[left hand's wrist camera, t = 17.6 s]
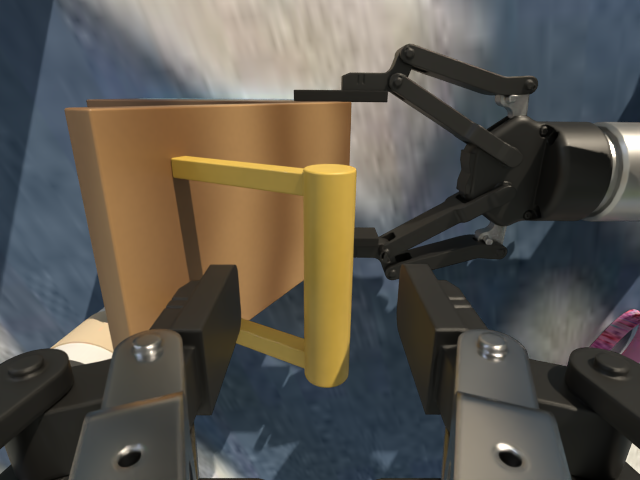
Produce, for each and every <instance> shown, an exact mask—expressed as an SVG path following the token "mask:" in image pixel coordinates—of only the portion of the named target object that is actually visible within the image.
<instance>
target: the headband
mask: <svg viewBox="0 0 640 480" xmlns="http://www.w3.org/2000/svg"><path fill="white" fill-rule="evenodd" d="M638 324H639V327H638V330H637V332H636V335H635V336H634V338H633V340H632V342H631V343H630V344H629V346H628V347H627V348H626V350H625V351H624V352H623V353H622V354H621V355H623V356H626V357H628V358H630V359H632V360H634V361H635V362H637V363H639V362H640V312H639V311H638V310H635V309H634V310H629V311H627V312H626V313H624V314H623V315H621V316H620V317H619V318H617V319H616V320H615V321H614V322H613V323H612V324H611V325H610V326H609V327H608V328H607V329H606V330H605V331H604V332H603V333H602V334H601V335H600V336H599V337H598V338H597V339H596V340H595V342H594V343H593V344H592V345H591V346H590V347H592V348H600V349H605V350H609V351H610V350H611V349H612V348H613V347H614V346H615V345H616V344H617V343H618V342H619V341H620V340H621V339H622V338H623V337H624V336H625V335H626V334H627V333H628V332H629V331H630V330H632V329H633V328H634V327H635V326H637V325H638Z"/></svg>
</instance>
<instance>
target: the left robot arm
mask: <svg viewBox="0 0 640 480" xmlns="http://www.w3.org/2000/svg"><path fill="white" fill-rule="evenodd" d="M240 327H241V302H240V290H239V277H238V269H237V266H236V265H235V264H211V265H210V266H209V267H208V269H207V270H206V272H205V273H204V275H203V276H202V278H201V279H200V280H192V281H190V282H189V283H187V284H185V285H184V286H182V287H181V288H179V289H178V290H177V292H176V293H175V295H174V296H173V297H172V300H170V301H169V303H168V304H167V306H166V308H164V310H163V311H162V313H161V314H160V315H159V317H158V318H157V319H156V321H155V322H154V324H153V325H152V326H151V328H150V329H149V330H146V331H142V332H139V333H136V334H134V335H132V336H130V337H128V338H126V339H124V340H123V341H122V342H120V343H119V344H118V345H117V346H116V348H115V349H114V351H113V354H112V358H110V359H107V360H103V361H98V362H93V363H88V364H83V365H78V366H73V367H71V364H70V360H69V357H68V354H67V353H66V352H64V351H62V350H59V349H53V348H51V349H39V350H33V351H30V352H26V353H23V354H20V355H18V356H15V357H13V358H11V359H9V360H6V361H5V362H3V363H1V364H0V449H1V448H2V447H3V446H5V448H6V451H7V454H8V457H9V459H10V462H11V465H10V466H9V467H8V468H7V469H6V470H4V471H3V472H2V473H1V474H0V480H263V479H259V478H199V470H198V457H197V444H196V434H195V427H194V420H195V417H196V415H212V413H213V410H214V407H215V404H216V401H217V398H218V395H219V392H220V389H221V386H222V383H223V380H224V377H225V374H226V371H227V368H228V365H229V362H230V359H231V356H232V353H233V350H234V347H235V344H236V341H237V338H238V335H239V332H240ZM397 327H398V332H399V335H400V338H401V341H402V344H403V347H404V350H405V353H406V356H407V359H408V362H409V366H410V369H411V372H412V375H413V378H414V381H415V384H416V387H417V390H418V393H419V396H420V399H421V402H422V405H423V408H424V411H425V414H441V416H442V419H443V421H444V424H445V426H446V427H445V434H444V444H443V457H442V470H441V478H381V479H377V480H640V474H639V473H638V472H637V471H636V470H634V469H633V468H632V467H631V466H630V465H629V464H628V463H627V462H625V461H626V458H627V455H628V452H629V450H630V447H631V444H632V443H633V444H634V445H635V446H637V447H638V448H639V449H640V364H639V363H637V362H635V361H634V360H632V359H630V358H628V357H626V356H623V355H621V354H619V353H616V352H613V351H609V350H605V349H600V348H592V347H585V348H579V349H576V350H574V351H573V352H572V353H571V354H570V357H569V361H568V365H567V366H562V365H557V364H552V363H547V362H541V361H536V360H532V359H529V358H528V354H527V351H526V349H525V348H524V346H523V345H522V344H521V343H520V342H518V341H517V340H516V339H514V338H512V337H510V336H508V335H506V334H504V333H501V332H498V331H494V330H488V328H487V327H486V326H485V324H484V323H483V321H482V320H481V319H480V317H479V316H478V314H477V313H476V312H475V310H474V309H473V308H471V305H470V303H469V302H468V300H466V298H465V296H464V295H463V293H462V292H461V291H460V289H459V288H458V287H456V286H454V285H453V284H451V283H450V282H448V281H447V280H437V278H436V277H435V275H434V273H433V272H432V270H431V269H430V267H429V266H428V264H402V265H401V268H400V276H399V289H398V302H397Z"/></svg>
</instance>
